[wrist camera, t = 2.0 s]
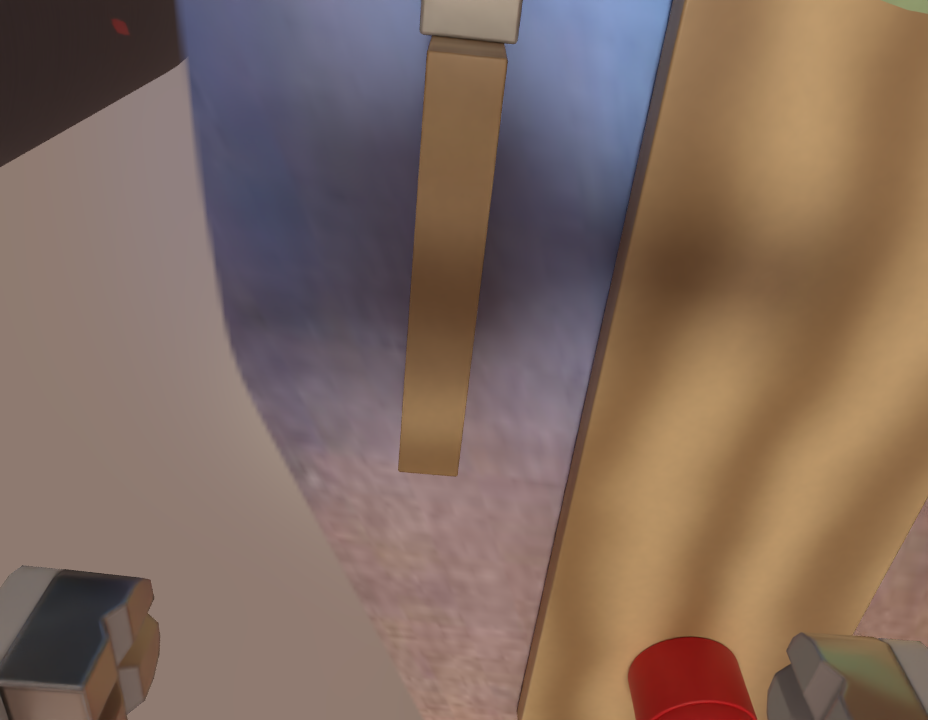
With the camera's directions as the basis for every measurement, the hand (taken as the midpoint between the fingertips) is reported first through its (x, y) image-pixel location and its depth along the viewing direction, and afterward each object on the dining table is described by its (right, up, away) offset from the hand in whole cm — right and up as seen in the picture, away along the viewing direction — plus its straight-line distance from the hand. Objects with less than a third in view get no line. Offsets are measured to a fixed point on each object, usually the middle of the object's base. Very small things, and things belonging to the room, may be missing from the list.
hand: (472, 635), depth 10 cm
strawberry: (+9, -9, +21) cm, 24 cm away
